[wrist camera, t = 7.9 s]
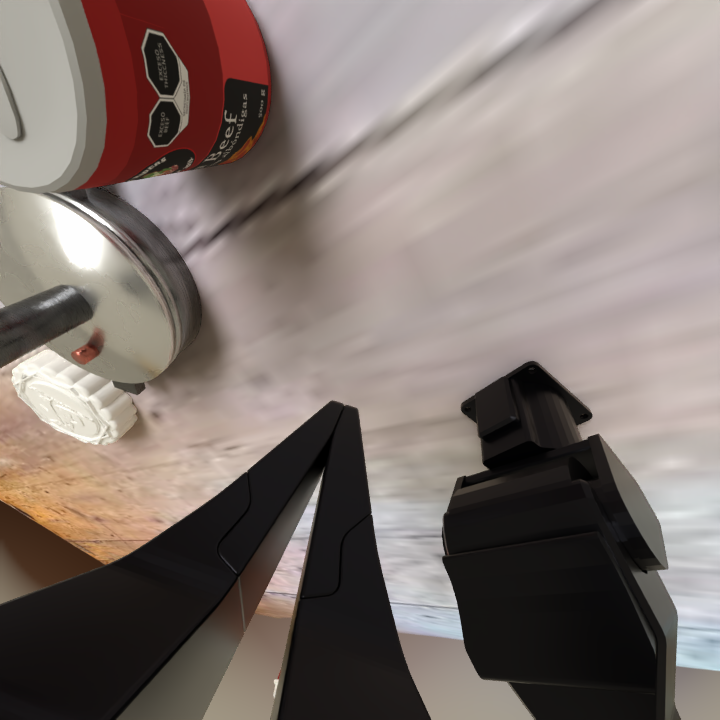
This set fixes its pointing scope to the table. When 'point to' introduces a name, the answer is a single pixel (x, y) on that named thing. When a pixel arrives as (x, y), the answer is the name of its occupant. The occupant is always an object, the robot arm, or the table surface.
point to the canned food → (126, 89)
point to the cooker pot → (147, 261)
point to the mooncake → (74, 399)
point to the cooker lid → (77, 292)
